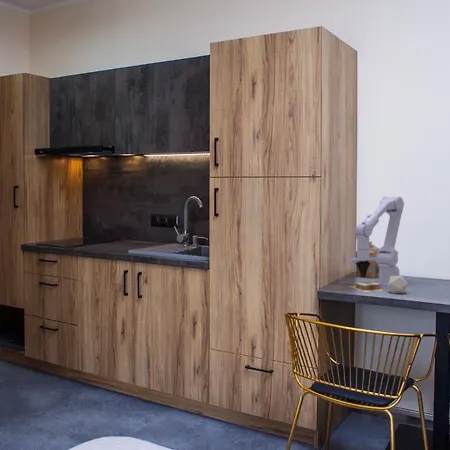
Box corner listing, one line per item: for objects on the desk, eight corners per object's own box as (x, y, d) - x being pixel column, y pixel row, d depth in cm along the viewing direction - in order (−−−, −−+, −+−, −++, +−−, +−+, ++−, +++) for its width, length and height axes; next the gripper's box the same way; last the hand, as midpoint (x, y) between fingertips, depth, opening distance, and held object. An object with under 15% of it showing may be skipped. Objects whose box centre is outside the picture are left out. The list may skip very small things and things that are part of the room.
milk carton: (374, 278, 289) (374, 243, 288) (355, 277, 295) (355, 242, 294) (380, 276, 298) (381, 241, 297) (362, 274, 304) (362, 241, 302)
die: (404, 296, 242) (413, 278, 245) (386, 287, 244) (395, 269, 246) (398, 299, 250) (407, 282, 253) (381, 290, 251) (390, 273, 254)
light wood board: (368, 285, 269) (368, 284, 269) (387, 290, 254) (387, 290, 254) (347, 286, 265) (347, 286, 265) (365, 292, 250) (365, 292, 250)
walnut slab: (371, 281, 263) (380, 284, 257) (371, 286, 263) (380, 289, 257) (355, 282, 261) (363, 285, 254) (355, 287, 261) (363, 290, 254)
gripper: (371, 247, 268) (371, 274, 269) (345, 248, 263) (345, 276, 264) (379, 249, 261) (379, 276, 262) (353, 250, 257) (353, 278, 257)
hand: (363, 276), depth 263 cm, fingers closed
